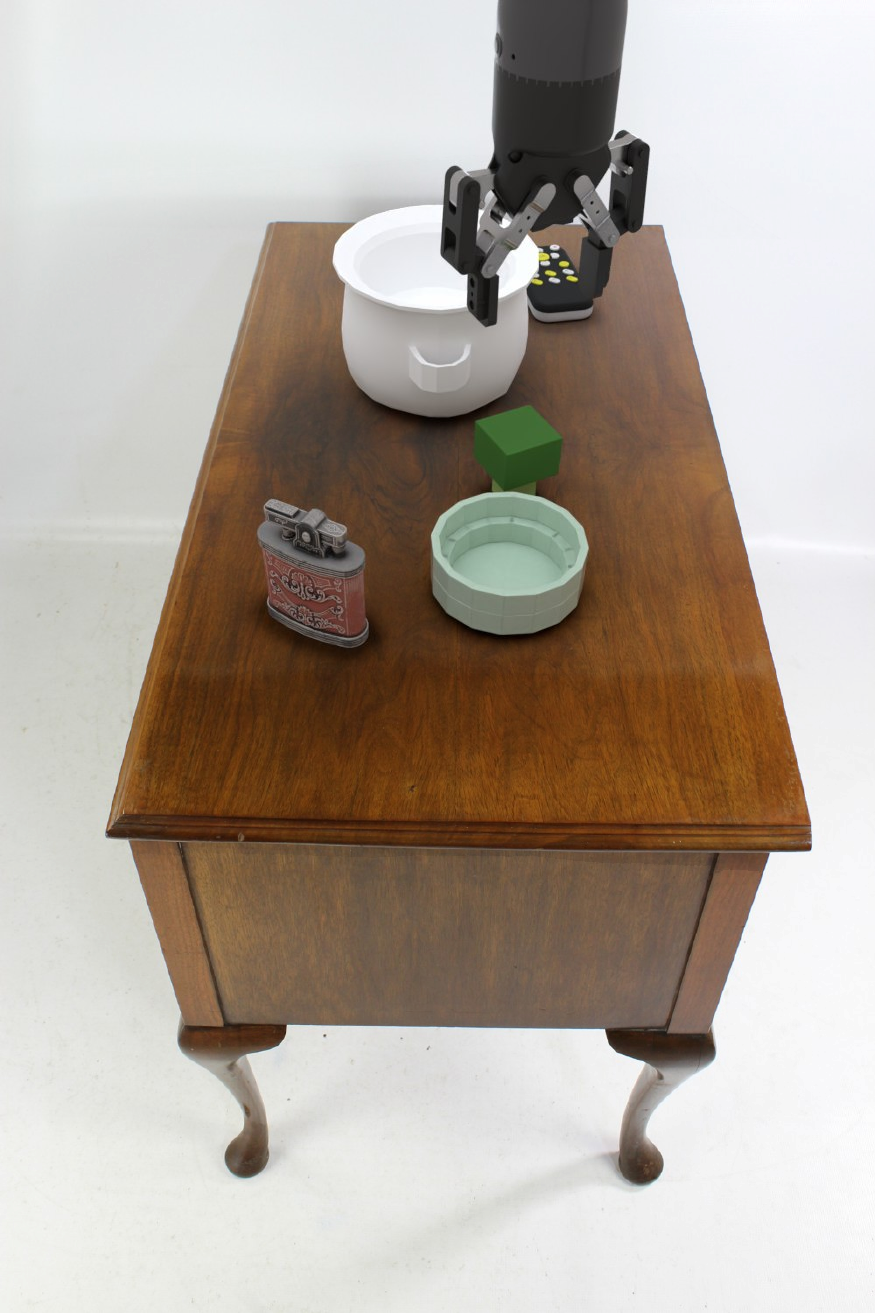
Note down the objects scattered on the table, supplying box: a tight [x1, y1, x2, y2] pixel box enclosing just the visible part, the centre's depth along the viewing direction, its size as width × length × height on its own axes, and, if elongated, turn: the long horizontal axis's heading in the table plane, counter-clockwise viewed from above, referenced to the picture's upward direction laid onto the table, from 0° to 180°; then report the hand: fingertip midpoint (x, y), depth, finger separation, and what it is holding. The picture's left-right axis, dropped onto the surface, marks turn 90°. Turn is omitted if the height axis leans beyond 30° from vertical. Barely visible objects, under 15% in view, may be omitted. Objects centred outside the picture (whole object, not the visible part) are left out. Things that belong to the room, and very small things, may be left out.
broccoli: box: [473, 404, 563, 496], centre depth 85 cm, size 5×5×6 cm
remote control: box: [526, 244, 595, 323], centre depth 109 cm, size 6×13×2 cm, turn 11°
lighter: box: [256, 498, 370, 649], centre depth 74 cm, size 8×3×10 cm, turn 62°
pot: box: [332, 204, 539, 418], centre depth 94 cm, size 22×17×12 cm
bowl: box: [429, 491, 590, 636], centre depth 78 cm, size 11×11×4 cm
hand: (538, 306), depth 74 cm, fingers open, 8 cm apart
